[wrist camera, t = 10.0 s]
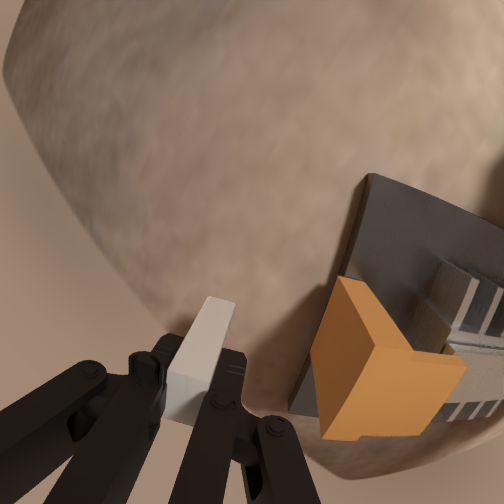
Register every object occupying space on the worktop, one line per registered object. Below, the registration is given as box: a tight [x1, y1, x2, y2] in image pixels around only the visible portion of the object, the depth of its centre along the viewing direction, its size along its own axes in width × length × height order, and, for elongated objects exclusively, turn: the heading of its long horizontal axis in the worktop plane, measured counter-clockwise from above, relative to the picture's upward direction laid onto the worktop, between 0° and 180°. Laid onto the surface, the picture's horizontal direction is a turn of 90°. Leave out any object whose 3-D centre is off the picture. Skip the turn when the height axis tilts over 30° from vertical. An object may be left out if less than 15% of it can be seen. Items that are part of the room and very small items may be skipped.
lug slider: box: [310, 276, 468, 441], centre depth 15 cm, size 6×6×8 cm
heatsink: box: [288, 173, 504, 422], centre depth 16 cm, size 20×28×8 cm
